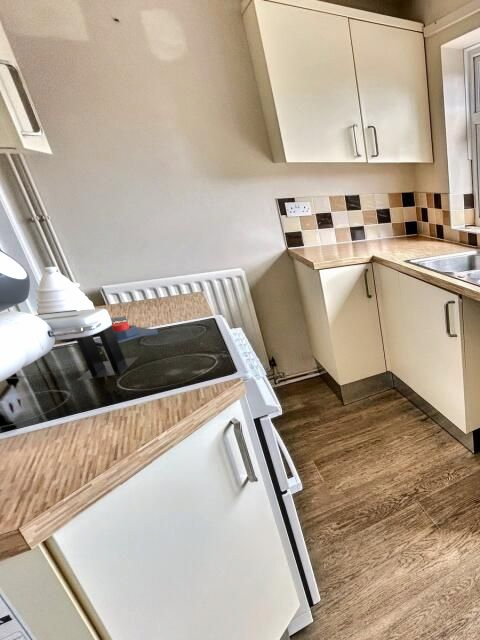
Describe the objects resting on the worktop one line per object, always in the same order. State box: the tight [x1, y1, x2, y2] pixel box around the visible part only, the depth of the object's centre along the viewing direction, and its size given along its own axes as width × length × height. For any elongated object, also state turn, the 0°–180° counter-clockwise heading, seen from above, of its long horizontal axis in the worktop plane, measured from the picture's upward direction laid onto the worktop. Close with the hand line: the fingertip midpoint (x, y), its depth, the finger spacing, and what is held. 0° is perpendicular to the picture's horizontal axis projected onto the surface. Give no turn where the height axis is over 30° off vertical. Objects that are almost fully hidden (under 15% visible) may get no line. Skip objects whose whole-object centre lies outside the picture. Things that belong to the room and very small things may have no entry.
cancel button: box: [111, 321, 130, 332], centre depth 117 cm, size 4×4×2 cm
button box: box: [93, 324, 159, 346], centre depth 118 cm, size 12×9×4 cm
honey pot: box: [34, 266, 96, 315], centre depth 134 cm, size 13×13×18 cm
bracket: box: [75, 326, 139, 382], centre depth 96 cm, size 11×8×14 cm
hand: (57, 316), depth 83 cm, fingers open, 8 cm apart
